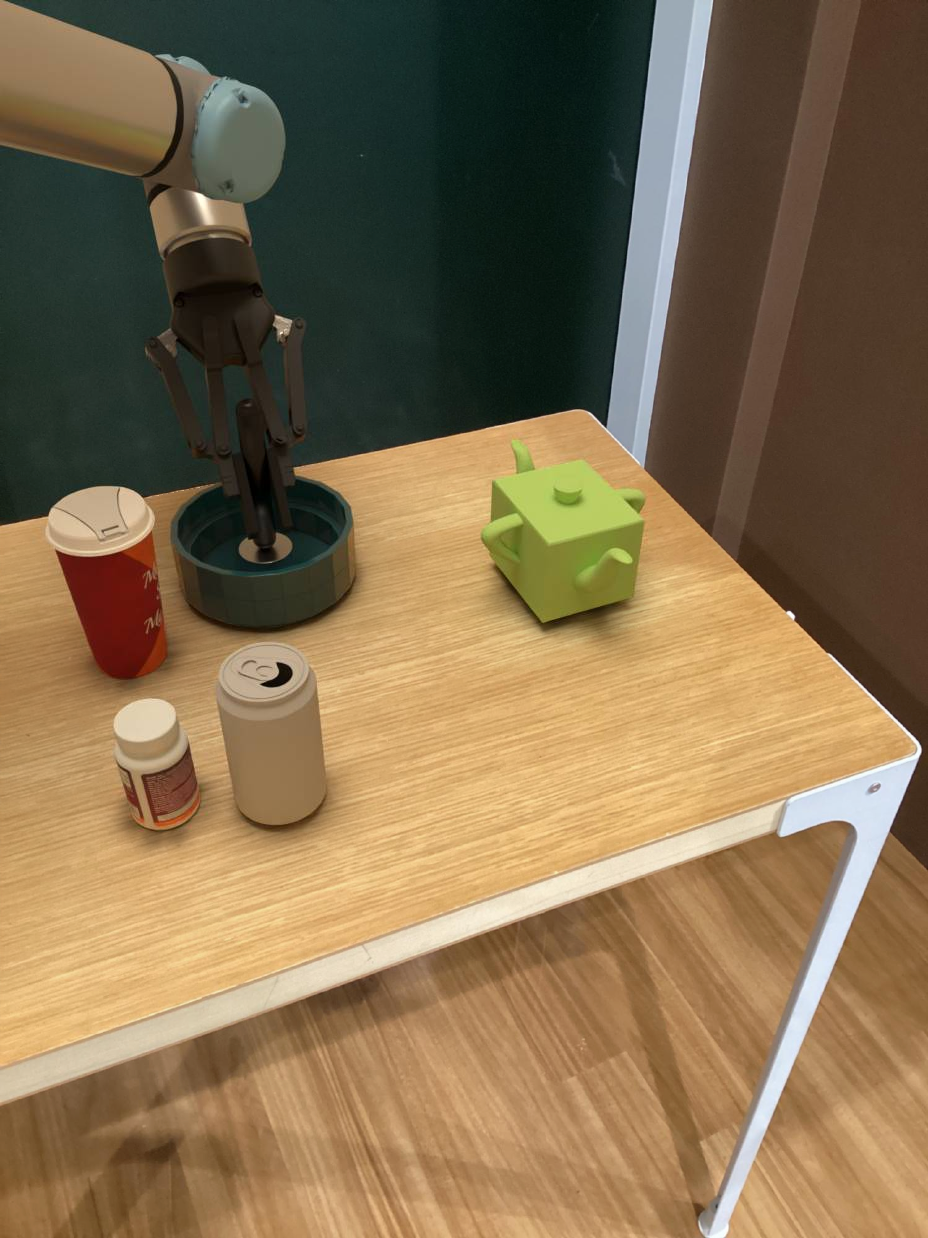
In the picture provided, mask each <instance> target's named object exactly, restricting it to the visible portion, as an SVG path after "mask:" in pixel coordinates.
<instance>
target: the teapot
mask: <svg viewBox="0 0 928 1238" xmlns="http://www.w3.org/2000/svg"><path fill="white" fill-rule="evenodd" d="M510 446H511V450H512V451H513V454H514V458H515V466H516V471H515V472H516V473H515V474H512V475H507V476H503V477H498V478H494V479H492V481H491V499H490V522H489V523H488V524H487V525H485V526H484V527H483V528H482V530H481V532H480V540H481V542H482V544H483V545H484V547H485V548H486V549H487V550H488V555H489V557H490V558H491V560H492V561H493V562H494V563H495V564H496V566H497V567H498V568H499V569H500V572H502V573H503V575H504V576H505V577H506V578H507V580H508V581H509V582H510V584H511V585H512V586H513V587H514V589H515V590H516V591H517V593H518V594H519V595H520V597H521V598H522V599H523V600H524V602H525V603H526V604H527V605H528V606H529V608H530V609H531V611H532V612H533V613H534V615H536V616H537V618H538V619H539V621H540V622H541V623H546V622H550V621H553V620H557V619H560V618H564V617H568V616H571V615H574V614H577V613H581V612H585V611H589V610H593V609H596V608H599V607H602V606H606V605H610V604H614V603H617V602H620V601H624V600H627V599H631V598H634V596H635V588H636V582H637V576H638V569H639V563H640V556H641V549H642V542H643V537H644V536H643V535H644V531H645V530H644V529H645V523H646V521H645V519H644V518H643V517H642V516H641V515H640V513H641V511H642V510H643V508H644V506H645V504H646V495H645V493H643V491H641V490H640V489H637V488H628V487H627V488H625V487H624V488H615V489H614V488H613V487H612V486H611V485H610V484H609V483H608V482H607V481H606V480H605V479H604V478H603V477H602V476H601V475H600V474H599V473H598V472H597V471H596V470H595V469H593V468H592V467H591V466H590V464H589V463H587V461H585V460H584V459H583V458H580V459H577V460H573V461H568V462H564V463H559V464H555V465H550V466H546V467H541V468H535V464H534V461H533V459H532V455H531V453H530V451H529V448H528V447H527V446H526V445H525V444H524V442H522V441H521V440H519V439H511V440H510Z"/></svg>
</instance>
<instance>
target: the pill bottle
mask: <svg viewBox="0 0 928 1238" xmlns="http://www.w3.org/2000/svg"><path fill="white" fill-rule="evenodd" d="M112 728H113V729H112V730H113V732H114V733H113V734H114V738H115V744H114V748H113V755H114V759H115V763H116V765H117V770H118V772H119V773H118V774H119V776H120V779H121V783H122V786H123V790H124V793H125V797H126V800H127V803H128V807H129V811H130V813H131V816H132V818H133V820H134V821H135V822H136V823H137V824H138V825H140V826H142V827H144V828H146V829H149V830H155V831H164V830H169V829H170V830H171V829H173V828H176V827H178V826H180V825H183V824H184V823H186V822H188V821H189V820H190V819H191V818H192V816H193V815H194V814H195V813H196V812H197V810H198V808H199V806H200V803H201V791H200V787H199V783H198V782H199V781H198V780H197V779H198V778H197V774H196V770H195V765H194V760H193V757H192V751H191V745H190V743H189V742H190V741H189V737H188V733H187V732H186V730H185V728H184V726H182V725H181V724H180V721H179V718H178V714H177V712H176V709H175V707H174V706H173V705H172V704H171V703H170V702H168V701H167V700H164V699H160V698H142V699H138V700H135V701H133V702H130V703H128V704H126V705H125V706H124V707H122V708H121V709H120V710H119V711H118V712H117V714H116V715H115V717H114V719H113V723H112Z"/></svg>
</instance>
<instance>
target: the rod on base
mask: <svg viewBox="0 0 928 1238" xmlns="http://www.w3.org/2000/svg"><path fill="white" fill-rule="evenodd" d="M234 411H235V419H236V427H237V434H238V441H239V447H240V448H239V449H240V453H242V455H243V460H244V464H245V469H246V473H247V478H248V482H249V487H250V491H251V496H252V500H253V504H254V509H255V513H256V518H257V522H258V527H259V531H260V532H259V535H258V538H257V539H252V540H248V537H247V538H246V539H244V540H243V541H242V542H241V543H240V545H239V549H238V551H239V558H240V565H241V570H242V572H261V571H272V570H281V569H284V568H288V567H291V566H294V564H295V562H294V553H293V544H292V542H291V540H290V539H289V538H288V537H287V536H285V535H283V534H280V533H276V530H275V521H274V513H273V504H272V496H271V488H270V479H269V471H268V462H267V453H266V449H267V447H266V446H267V445H266V437H265V436H266V435H265V430H264V427H263V419H262V410H261V406H260V404H259V403H258V402H257V401H256V400H254V398H251V397H245V398H242V399H240V400H239V401H238V402H237V404H236V405H235V409H234Z"/></svg>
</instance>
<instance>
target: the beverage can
mask: <svg viewBox="0 0 928 1238" xmlns="http://www.w3.org/2000/svg"><path fill="white" fill-rule="evenodd" d="M214 690H215V691H214V694H215V698H216V705H217V710H218V715H219V721H220V726H221V731H222V737H223V744H224V749H225V755H226V760H227V766H228V771H229V775H230V782H231V786H232V792H233V798H234V802H235V804H236V806H237V808H238V810H239V811H240V812H241V813H242V814H243V815H244V816H245V817H247V818H248V819H249V820H252V821H254V822H256V823H259V824H263V825H269V826H283V825H288V824H292V823H295V822H298V821H300V820H302V819H304V818H306V817H308V816H309V815H311V814H312V813H313V812H314V811H315V810H317V808H318V807H319V806H321V804H322V802H323V800H324V798H325V796H326V793H327V786H328V785H327V784H328V783H327V774H326V765H325V764H326V763H325V753H324V752H325V751H324V744H323V734H322V723H321V715H320V712H321V711H320V703H319V693H318V683H317V676H316V673H315V671H314V670H313V668H312V667H311V666H310V664H309V661H308V659H307V657H306V655H305V654H304V653H303V652H302V651H301V650H299V648H297V647H295V646H293V645H291V644H288V643H285V642H280V641H279V642H278V641H261V642H255V643H250V644H248V645H245V646H242V647H240V648H238V649H236V650H234V651H233V652H232V653H230V654H229V655H228V656H227V657H226V658H225V659H224V661H223V662H222V664H221V665H220V667H219V671H218V678H217V681H216V684H215V687H214Z"/></svg>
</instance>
